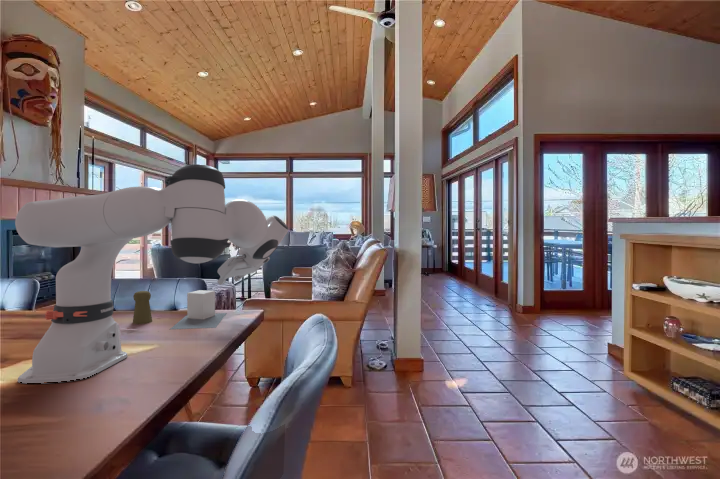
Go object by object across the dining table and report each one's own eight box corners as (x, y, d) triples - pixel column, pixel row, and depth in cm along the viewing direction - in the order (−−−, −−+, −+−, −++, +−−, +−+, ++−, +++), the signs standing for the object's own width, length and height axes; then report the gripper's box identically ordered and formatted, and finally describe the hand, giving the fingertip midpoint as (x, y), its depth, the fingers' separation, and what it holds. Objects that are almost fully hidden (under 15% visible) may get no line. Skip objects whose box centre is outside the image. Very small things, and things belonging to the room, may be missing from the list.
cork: (133, 322, 137) (132, 290, 137) (153, 320, 140) (152, 289, 139) (131, 326, 132) (131, 293, 131) (152, 324, 134) (151, 291, 134)
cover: (215, 315, 146) (214, 290, 146) (203, 319, 139) (203, 293, 139) (199, 314, 148) (199, 290, 147) (187, 318, 141) (187, 292, 141)
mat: (215, 329, 128) (215, 327, 128) (169, 330, 126) (169, 329, 126) (226, 314, 150) (226, 313, 150) (187, 315, 147) (187, 314, 147)
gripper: (241, 263, 127) (215, 292, 130) (272, 258, 147) (249, 284, 150) (229, 249, 128) (203, 278, 131) (261, 246, 148) (238, 272, 151)
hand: (228, 281), depth 141 cm, fingers open, 8 cm apart
